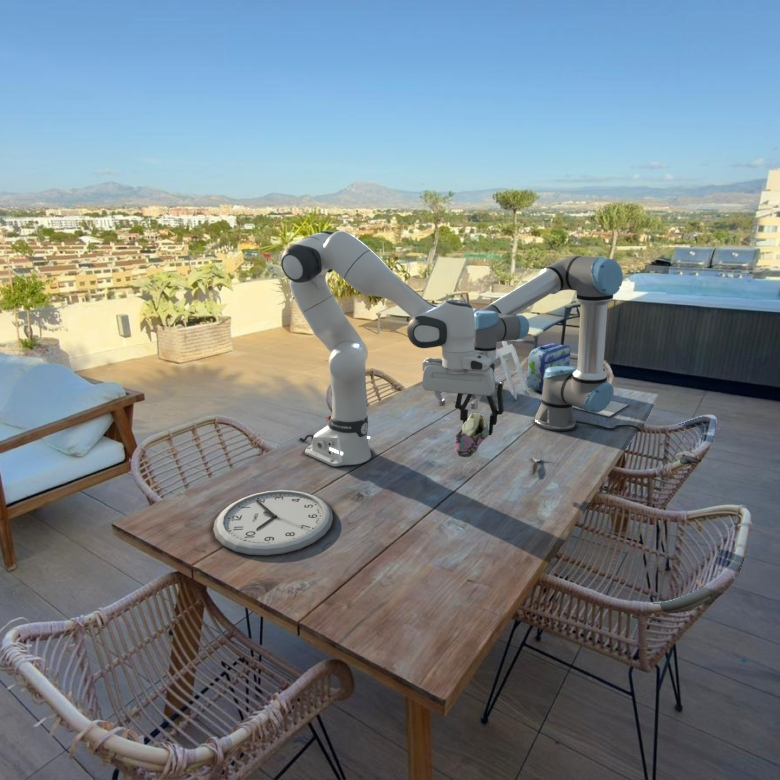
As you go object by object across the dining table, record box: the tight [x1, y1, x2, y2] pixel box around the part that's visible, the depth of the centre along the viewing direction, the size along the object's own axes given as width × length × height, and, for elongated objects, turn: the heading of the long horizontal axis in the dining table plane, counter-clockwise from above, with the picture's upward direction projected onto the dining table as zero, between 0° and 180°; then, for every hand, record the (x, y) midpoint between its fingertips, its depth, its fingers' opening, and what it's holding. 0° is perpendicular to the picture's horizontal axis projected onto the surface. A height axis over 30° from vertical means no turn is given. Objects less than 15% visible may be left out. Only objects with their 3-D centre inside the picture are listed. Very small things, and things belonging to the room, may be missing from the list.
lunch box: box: [525, 343, 571, 393], centre depth 249 cm, size 26×11×21 cm, turn 134°
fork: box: [532, 451, 543, 475], centre depth 168 cm, size 3×16×2 cm, turn 160°
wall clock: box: [212, 489, 334, 556], centre depth 134 cm, size 30×2×30 cm
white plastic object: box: [494, 341, 531, 400], centre depth 245 cm, size 37×45×31 cm
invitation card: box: [573, 400, 629, 418], centre depth 226 cm, size 21×1×15 cm
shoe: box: [453, 412, 490, 458], centre depth 157 cm, size 8×24×9 cm, turn 158°
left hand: (457, 407), depth 148 cm, fingers open, 8 cm apart
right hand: (477, 431), depth 166 cm, fingers closed on shoe, 8 cm apart
